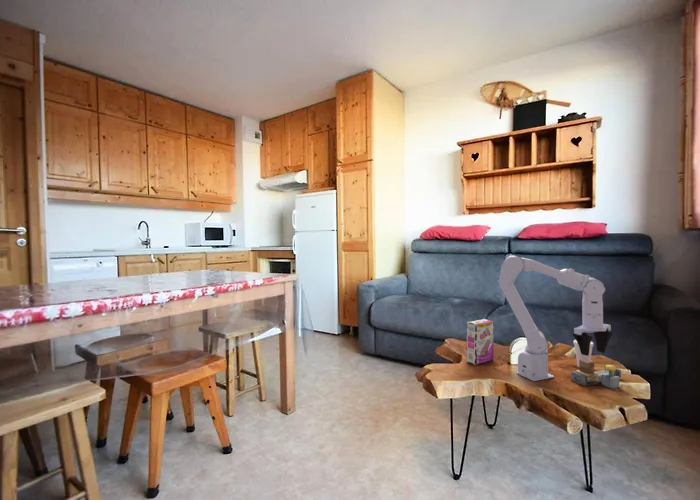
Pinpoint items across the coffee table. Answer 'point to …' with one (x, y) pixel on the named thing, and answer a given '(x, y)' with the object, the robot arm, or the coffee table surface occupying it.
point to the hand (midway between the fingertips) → (592, 353)
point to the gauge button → (610, 370)
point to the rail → (583, 380)
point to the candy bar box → (480, 341)
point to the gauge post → (610, 381)
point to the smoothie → (581, 356)
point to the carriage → (587, 370)
